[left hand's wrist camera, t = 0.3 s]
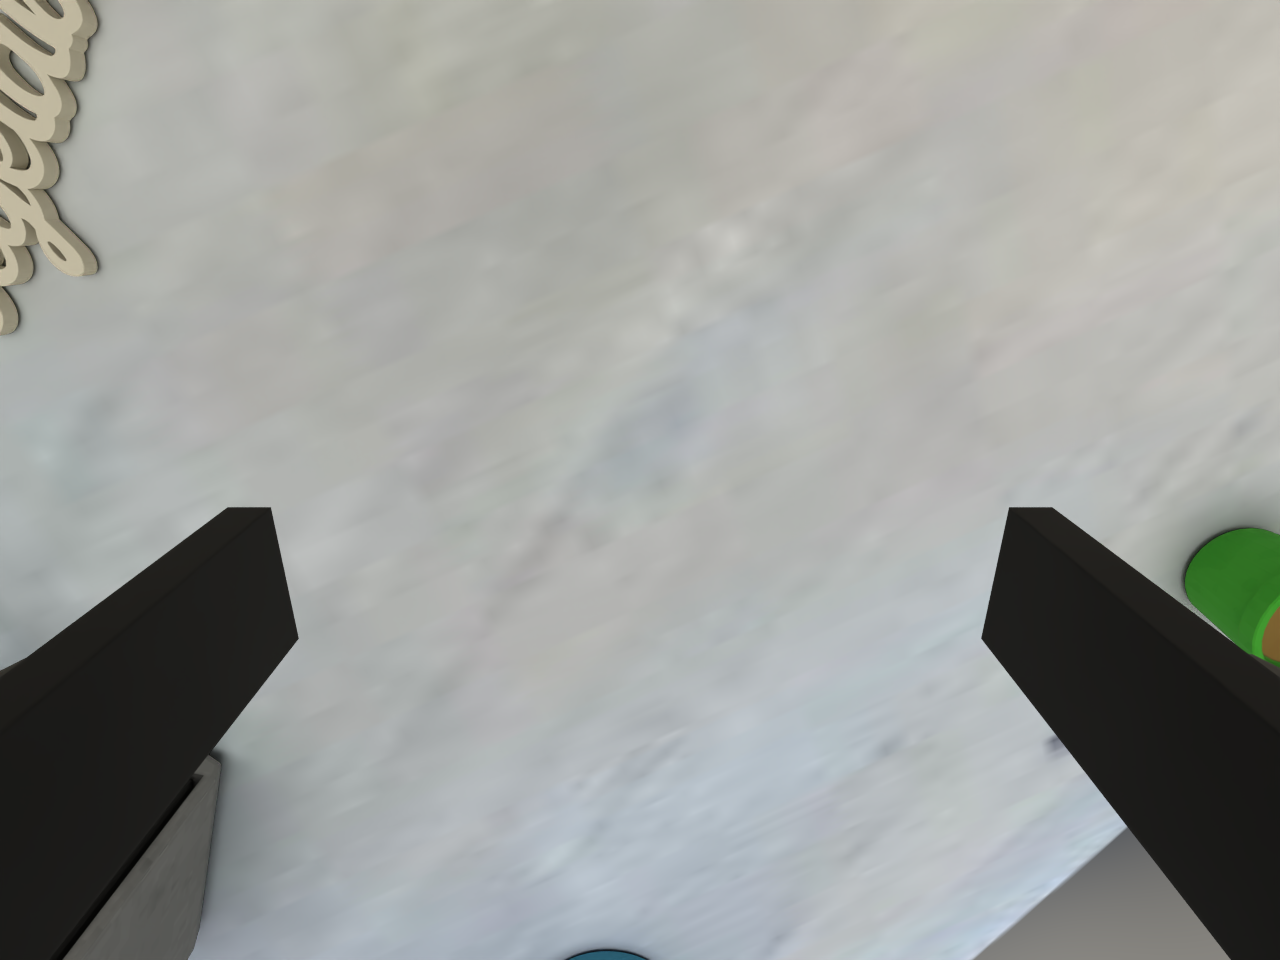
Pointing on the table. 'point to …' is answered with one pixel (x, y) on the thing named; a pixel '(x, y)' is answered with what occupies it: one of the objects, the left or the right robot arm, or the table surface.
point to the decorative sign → (38, 139)
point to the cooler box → (155, 885)
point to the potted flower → (1240, 589)
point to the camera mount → (607, 956)
